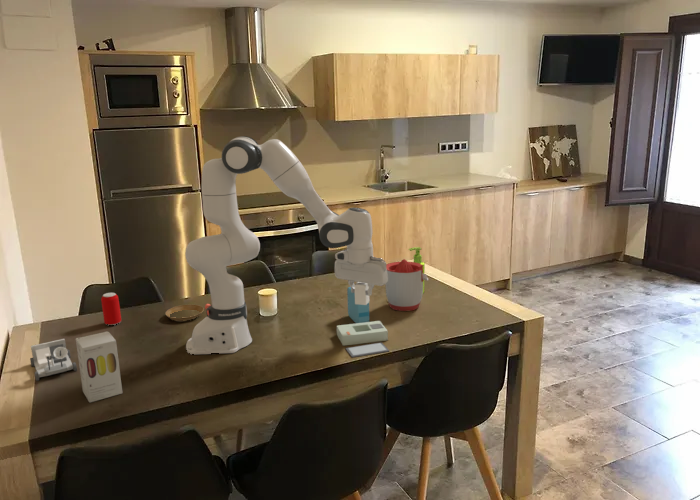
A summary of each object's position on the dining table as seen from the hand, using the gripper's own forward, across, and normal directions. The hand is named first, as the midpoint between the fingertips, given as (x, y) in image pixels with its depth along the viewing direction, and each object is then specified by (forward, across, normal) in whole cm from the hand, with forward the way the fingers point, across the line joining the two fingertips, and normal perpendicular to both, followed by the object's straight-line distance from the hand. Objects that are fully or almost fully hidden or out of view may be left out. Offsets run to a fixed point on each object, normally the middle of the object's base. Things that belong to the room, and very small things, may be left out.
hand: (361, 293), depth 197 cm
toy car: (+16, +69, +74) cm, 103 cm away
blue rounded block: (+16, +11, -13) cm, 24 cm away
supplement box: (+16, +42, +74) cm, 86 cm away
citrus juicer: (+16, +3, -35) cm, 39 cm away
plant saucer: (+16, +72, +20) cm, 76 cm away
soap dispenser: (+16, +9, -53) cm, 56 cm away
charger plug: (+4, 0, 0) cm, 4 cm away
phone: (+17, -7, +8) cm, 20 cm away
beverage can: (+15, +90, +41) cm, 100 cm away
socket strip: (+16, 0, 0) cm, 16 cm away
